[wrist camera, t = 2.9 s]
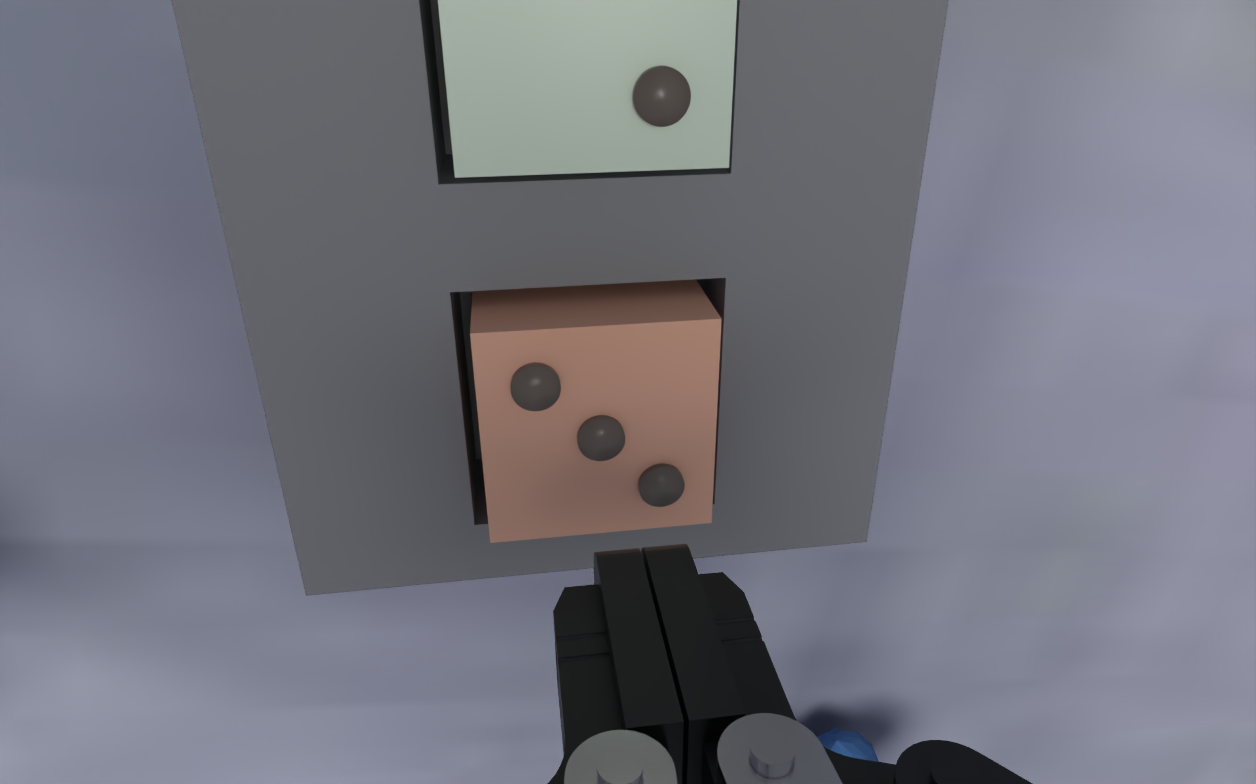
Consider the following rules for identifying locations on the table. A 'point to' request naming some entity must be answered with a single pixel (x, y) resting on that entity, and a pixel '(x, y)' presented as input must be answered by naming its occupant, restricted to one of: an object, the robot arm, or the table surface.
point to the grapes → (848, 744)
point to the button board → (555, 271)
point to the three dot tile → (596, 407)
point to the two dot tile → (588, 85)
